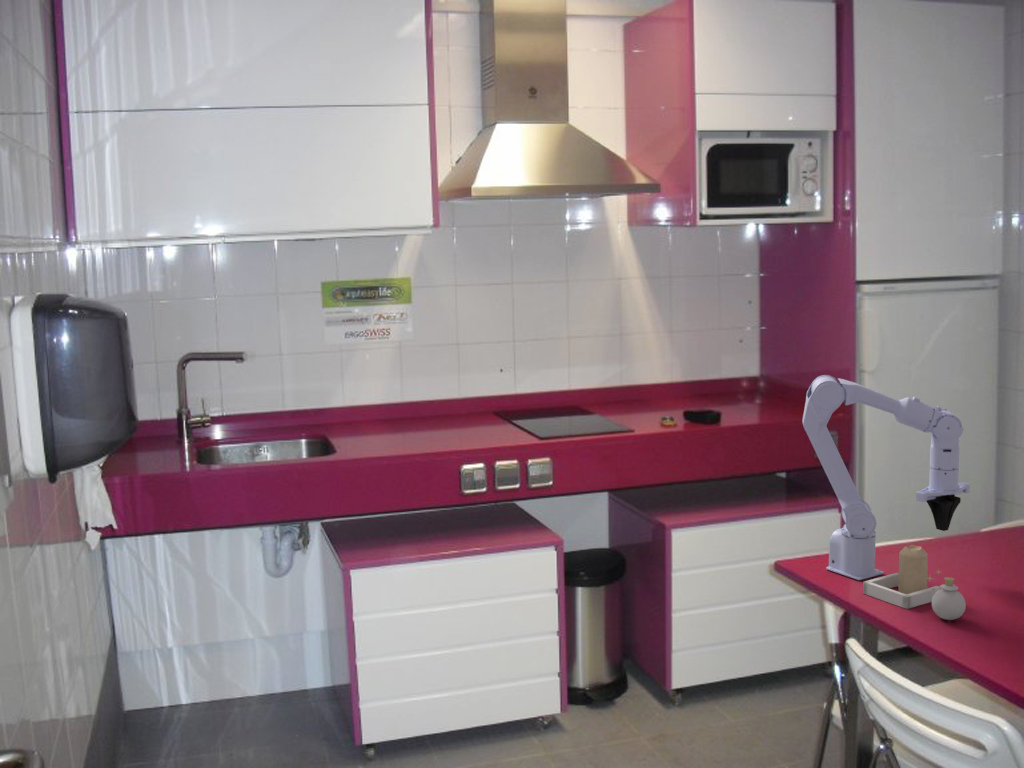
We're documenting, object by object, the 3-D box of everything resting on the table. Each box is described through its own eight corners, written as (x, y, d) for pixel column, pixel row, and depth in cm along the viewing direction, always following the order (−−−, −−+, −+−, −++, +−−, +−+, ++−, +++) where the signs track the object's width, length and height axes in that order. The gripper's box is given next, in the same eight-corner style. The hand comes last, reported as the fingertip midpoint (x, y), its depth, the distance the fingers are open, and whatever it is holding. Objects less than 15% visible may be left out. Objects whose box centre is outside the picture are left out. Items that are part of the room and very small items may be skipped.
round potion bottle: (967, 625, 197) (969, 575, 196) (925, 623, 199) (927, 573, 198) (962, 614, 203) (963, 564, 202) (921, 612, 205) (922, 563, 203)
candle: (898, 596, 214) (899, 549, 212) (897, 587, 219) (898, 541, 217) (927, 598, 212) (929, 551, 210) (925, 589, 217) (927, 543, 216)
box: (863, 593, 216) (863, 581, 216) (895, 584, 221) (896, 572, 221) (907, 609, 207) (907, 596, 206) (940, 599, 211) (940, 587, 211)
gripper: (936, 475, 215) (934, 539, 217) (983, 466, 222) (980, 528, 223) (908, 469, 221) (907, 531, 223) (954, 460, 228) (952, 520, 230)
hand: (942, 529), depth 223 cm, fingers closed
